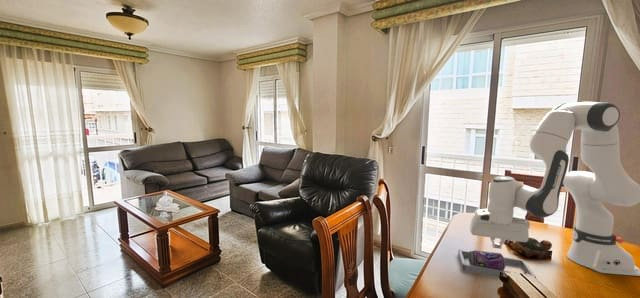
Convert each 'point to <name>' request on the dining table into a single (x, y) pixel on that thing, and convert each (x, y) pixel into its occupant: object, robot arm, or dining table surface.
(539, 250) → the clay ocarina
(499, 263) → the beverage can
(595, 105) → the robot arm
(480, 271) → the frame
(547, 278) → the dining table surface
